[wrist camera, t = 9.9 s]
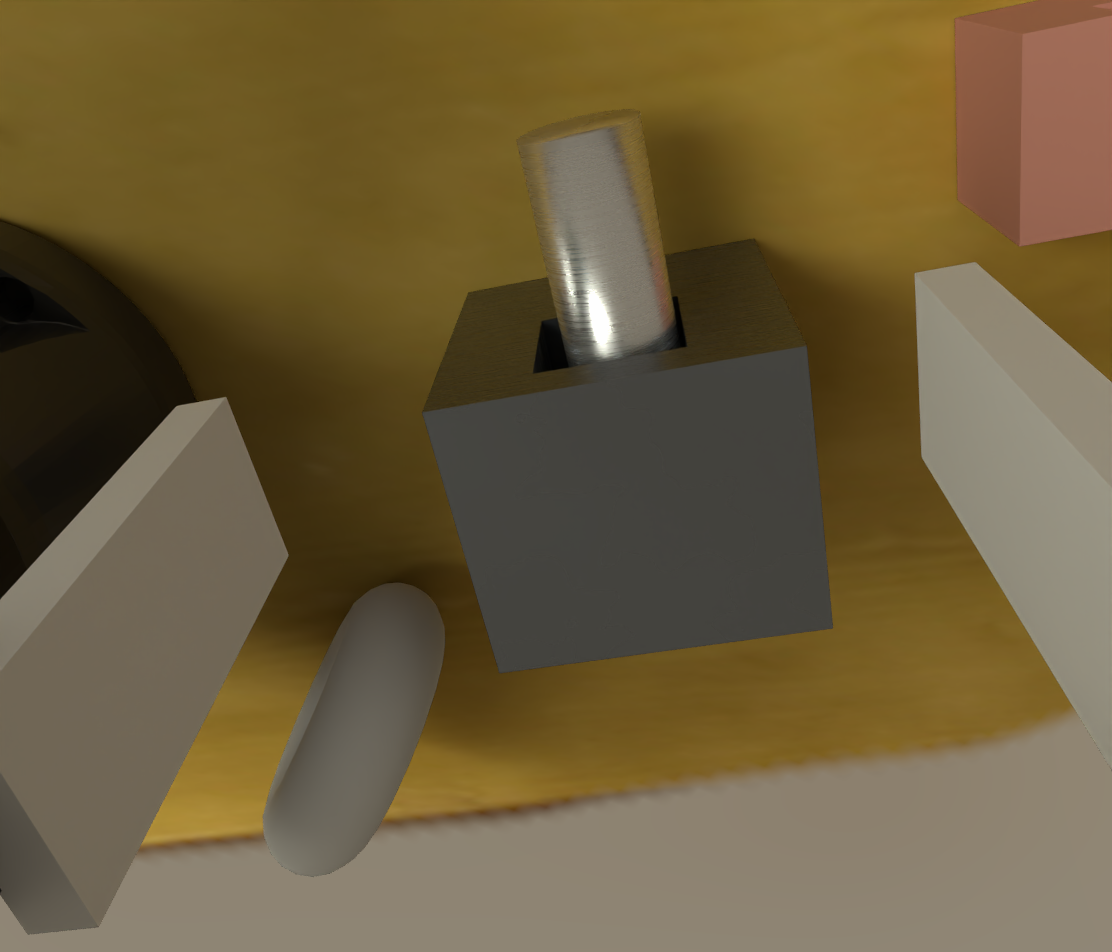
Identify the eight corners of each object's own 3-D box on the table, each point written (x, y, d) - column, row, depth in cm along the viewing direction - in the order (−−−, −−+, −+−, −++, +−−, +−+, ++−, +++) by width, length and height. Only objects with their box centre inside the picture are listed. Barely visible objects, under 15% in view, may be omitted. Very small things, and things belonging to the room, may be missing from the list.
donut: (377, 734, 41) (314, 954, 32) (298, 703, 40) (212, 918, 31) (478, 553, 36) (437, 751, 27) (391, 515, 35) (321, 705, 27)
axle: (615, 586, 31) (637, 641, 29) (509, 134, 25) (525, 151, 22) (706, 561, 31) (736, 613, 29) (624, 104, 25) (653, 117, 22)
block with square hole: (523, 507, 35) (499, 673, 27) (468, 292, 31) (422, 412, 23) (779, 466, 34) (833, 628, 26) (754, 238, 30) (806, 346, 22)
